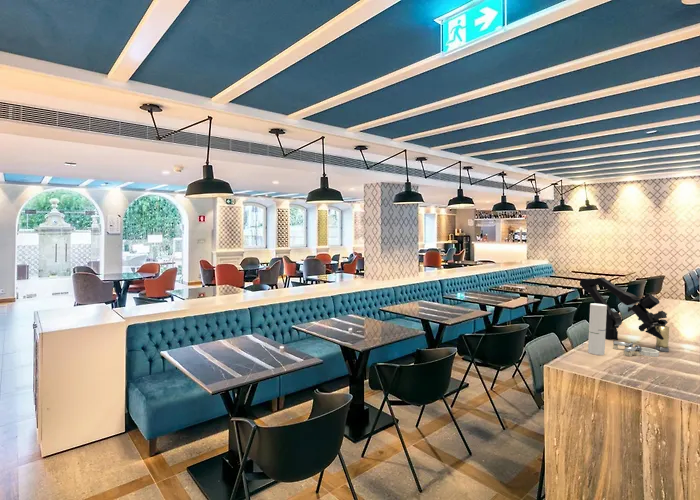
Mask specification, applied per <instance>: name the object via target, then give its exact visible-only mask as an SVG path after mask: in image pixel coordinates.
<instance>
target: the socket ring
mask: <svg viewBox="0 0 700 500" xmlns="http://www.w3.org/2000/svg"><path fill="white" fill-rule="evenodd" d="M640 347H641V348H642V351H641V352H639V355H641V356H646V357H653V358H655V357H656V358H657V357H659V356H660V351H658V350H655V348H650V347H644V346H643V347H642V346H640Z"/></svg>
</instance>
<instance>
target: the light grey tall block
mask: <svg viewBox="0 0 700 500" xmlns="http://www.w3.org/2000/svg"><path fill="white" fill-rule="evenodd" d="M606 314H607V305H604V304H597V303H596V302H594V303H590V304H589V319H588V320H589V325H588V339H587V340H588V343H587V344H588V345H587V353H589V354H590V355H596V356H604V355H605V349H606V339H605V334H606Z"/></svg>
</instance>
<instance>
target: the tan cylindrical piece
mask: <svg viewBox="0 0 700 500" xmlns="http://www.w3.org/2000/svg"><path fill="white" fill-rule="evenodd" d="M657 330H658V331H659V332H660V334H661V335H662V337H663V338H664V339H663V340H661V339H659V338H657V337H656V342H655V346H654V349H655V350H658V351H659V353H660V352H661V353H669V351H670V348H669V342H670V341H669V340H670V326H668V325H665V326H662V325H657Z"/></svg>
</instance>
